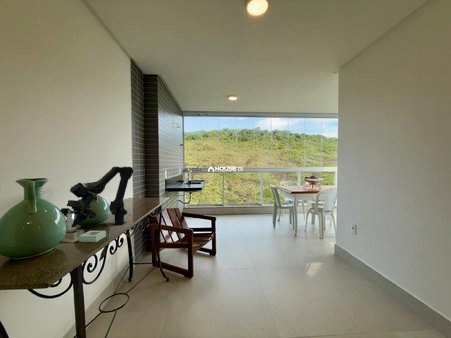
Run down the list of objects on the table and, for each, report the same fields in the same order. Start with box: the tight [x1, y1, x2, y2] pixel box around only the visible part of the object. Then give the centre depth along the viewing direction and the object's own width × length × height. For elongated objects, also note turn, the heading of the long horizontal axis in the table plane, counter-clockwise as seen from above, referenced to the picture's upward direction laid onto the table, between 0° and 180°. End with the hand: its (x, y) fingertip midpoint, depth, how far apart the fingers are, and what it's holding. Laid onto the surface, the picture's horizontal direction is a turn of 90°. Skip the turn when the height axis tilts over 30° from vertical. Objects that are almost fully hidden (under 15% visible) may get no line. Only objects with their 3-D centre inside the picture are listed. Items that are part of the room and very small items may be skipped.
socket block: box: [78, 230, 107, 243], centre depth 119 cm, size 9×9×3 cm
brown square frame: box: [61, 229, 85, 243], centre depth 118 cm, size 8×8×4 cm
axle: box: [66, 213, 77, 233], centre depth 118 cm, size 4×4×14 cm
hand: (69, 227), depth 116 cm, fingers closed on axle, 4 cm apart
